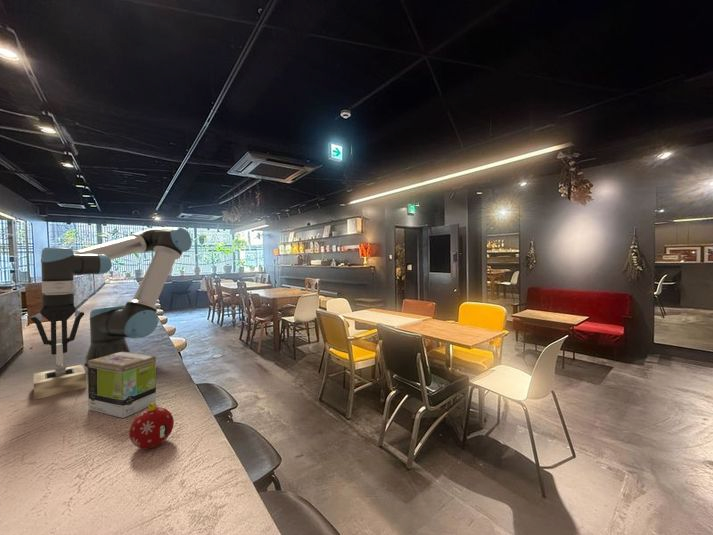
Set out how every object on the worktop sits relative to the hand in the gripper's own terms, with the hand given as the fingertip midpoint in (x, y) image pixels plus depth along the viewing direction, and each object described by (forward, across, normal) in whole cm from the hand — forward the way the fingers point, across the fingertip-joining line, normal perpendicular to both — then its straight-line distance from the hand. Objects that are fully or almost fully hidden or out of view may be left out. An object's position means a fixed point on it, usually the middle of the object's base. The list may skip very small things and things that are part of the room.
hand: (59, 363), depth 100 cm
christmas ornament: (+9, +13, -59) cm, 61 cm away
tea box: (+9, +12, -31) cm, 34 cm away
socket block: (+9, 0, 0) cm, 9 cm away
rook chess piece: (+9, 0, 0) cm, 9 cm away
